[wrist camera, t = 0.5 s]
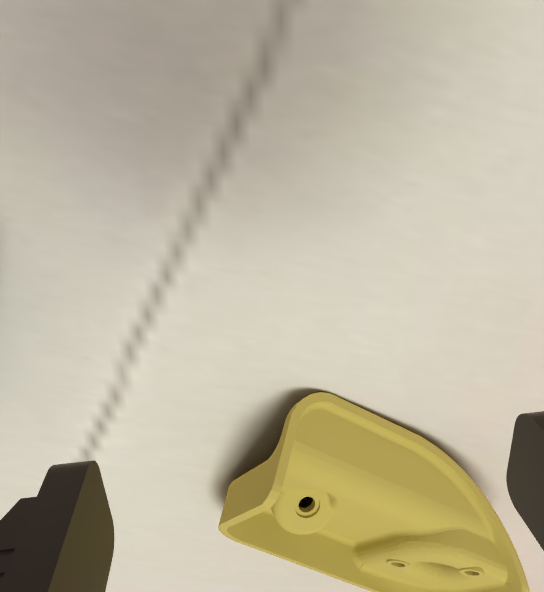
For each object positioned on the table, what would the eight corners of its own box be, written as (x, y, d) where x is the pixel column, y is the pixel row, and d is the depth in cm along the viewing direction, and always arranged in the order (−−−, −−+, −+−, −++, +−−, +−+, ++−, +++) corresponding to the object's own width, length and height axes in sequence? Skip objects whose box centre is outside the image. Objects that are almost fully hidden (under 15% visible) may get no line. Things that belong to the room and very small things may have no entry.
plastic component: (206, 530, 34) (279, 496, 27) (233, 430, 39) (300, 378, 32) (437, 615, 39) (550, 606, 32) (435, 517, 44) (533, 490, 37)
